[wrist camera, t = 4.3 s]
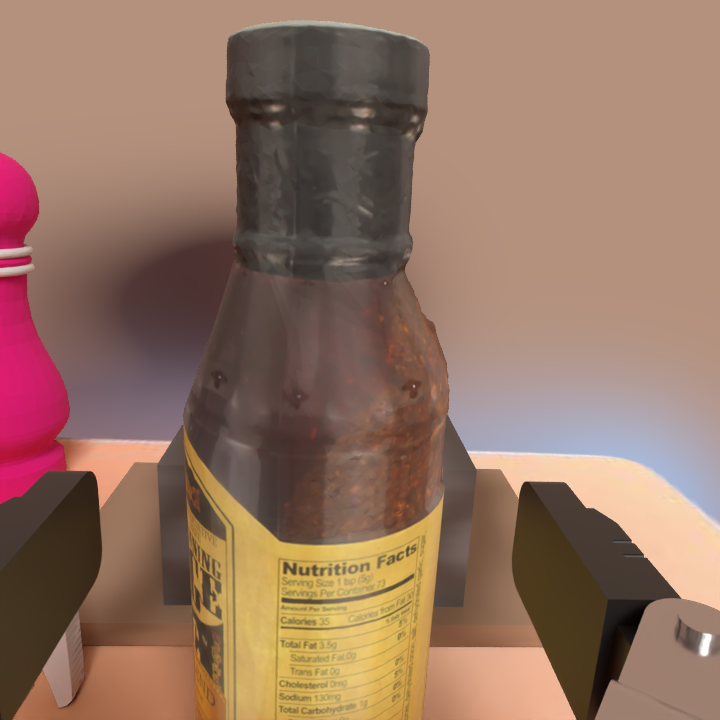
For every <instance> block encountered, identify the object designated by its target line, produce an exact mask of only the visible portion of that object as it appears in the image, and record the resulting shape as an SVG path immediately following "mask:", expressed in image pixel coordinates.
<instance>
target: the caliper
mask: <svg viewBox="0 0 720 720" xmlns="http://www.w3.org/2000/svg"><path fill="white" fill-rule="evenodd" d="M42 670H43V672H44V674H45V676H46V678H47V681H48V683H49V685H50V687H51V690H52V692H53V695H54V697H55V700H56V703H57V705H58V708H61V707H64V706H67V705H68V704H69V703H70V702H71V701H72V700H73V698H74V696H75V694H76V692H77V691H78V689H79V687H80V685H81V683H82V681H83V680H84V678H85V676H84V659H83V649H82V639H81V630H80V620H79V611H77V613H76V615H75V616H74V618H73V620H72V621H71V623H70V625H69V626H68V628H67V630H66V631H65V633H64V635H63V636H62V638H61V640H60V641H59V643H58V645H57V646H56V648H55V649H54V651H53V653H52V654H51V656H50V658H49V659H48V661H47V663H46V664H45V666H44V668H43V669H42ZM33 686H34V684H33ZM33 686H32V688H33ZM32 688H31V689H32ZM31 689H30V691H31ZM30 691H29V692H30ZM28 694H29V693H28ZM28 694H27V696H28ZM27 696H26V697H27ZM26 697H25V699H26ZM25 699H24V700H25ZM23 702H24V701H23ZM23 702H22V703H23ZM21 705H22V704H21ZM19 708H20V707H19Z"/></svg>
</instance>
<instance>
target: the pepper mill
mask: <svg viewBox="0 0 720 720" xmlns="http://www.w3.org/2000/svg"><path fill="white" fill-rule="evenodd" d="M38 214H39V200H38V195H37V191H36V187H35V185H34V183H33V181H32V179H31V177H30V175H29V174H28V173H27V172H26V170H25V169H24V168H23V167H22V166H21V165H20V164H19V163H18V162H16V161H15V160H14V159H12V158H10V157H8V156H6V155H5V154H2V153H0V504H1V503H3V502H5V501H7V500H9V499H11V498H13V497H21V496H22V495H23V494H24V493H25V492H26V491H27V490H28V489H29V488H30V487H32V486H33V485H34V484H35V483H36V482H37V481H38V480H39V479H40V478H41V477H42V476H43V475H44V474H45V473H46V472H47V471H66V464H65V454H64V447H63V446H62V445H61V444H60V443H59V442H58V441H56V440H54V439H55V438H56V436H57V435H58V434H59V433H60V432H61V430H62V429H63V428H64V426H65V424H66V423H67V420H68V417H69V412H70V407H69V402H68V396H67V391H66V388H65V385H64V383H63V380H62V378H61V375H60V373H59V371H58V369H57V368H56V366H55V364H54V363H53V361H52V359H51V358H50V356H49V354H48V352H47V351H46V349H45V347H44V345H43V343H42V341H41V340H40V338H39V336H38V333H37V331H36V328H35V325H34V323H33V320H32V317H31V312H30V307H29V303H28V298H27V273H30V272H32V271H33V270H34V268H35V266H34V265H33V264H32V263H31V260H32V259H31V256H30V254H32V252H33V249H32V247H30V246H29V245H26V244H24V243H23V242H24V239H25V236H26V234H27V233H28V232H29V231H30V229H31V228H32V227H33V225H34V223H35V222H36V220H37V217H38Z"/></svg>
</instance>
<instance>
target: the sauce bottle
mask: <svg viewBox="0 0 720 720" xmlns="http://www.w3.org/2000/svg"><path fill="white" fill-rule="evenodd" d="M429 56H430V55H429V50H428V48H427V47H426V46H425V45H424V44H423V43H422V42H420V41H419V40H417V39H415V38H413V37H411V36H407V35H403V34H399V33H395V32H392V31H388V30H382V29H377V28H372V27H366V26H361V25H355V24H348V23H339V22H327V21H301V20H299V21H298V20H292V21H284V22H274V23H265V24H259V25H255V26H251V27H247V28H244V29H241V30H239V31H237V32H235V33H233V34H232V35H230V37H229V41H228V46H227V80H226V103H227V106H228V108H229V111H230V115H231V116H232V118H233V119H234V121H235V124H236V160H237V165H236V172H237V208H236V212H237V228H236V232H235V235H234V237H233V239H232V243H233V247H234V253H235V259H234V262H233V266H232V269H231V272H230V275H229V279H228V282H227V285H226V289H225V292H224V295H223V298H222V302H221V305H220V308H219V311H218V315H217V318H216V321H215V324H214V327H213V330H212V333H211V335H210V338H209V341H208V344H207V347H206V349H205V352H204V355H203V358H202V361H201V363H200V366H199V369H198V372H197V375H196V377H195V380H194V383H193V386H192V389H191V391H190V394H189V398H188V400H187V403H186V406H185V408H184V414H183V428H184V459H185V479H186V498H187V517H188V547H189V567H190V589H191V600H192V632H193V646H194V670H195V692H196V713H197V720H422V714H423V705H424V696H425V686H426V676H427V665H428V655H429V645H430V634H431V623H432V613H433V603H434V593H435V583H436V572H437V562H438V551H439V541H440V530H441V520H442V509H443V499H444V488H445V486H444V482H443V480H442V472H443V468H442V462H443V459H442V452H443V447H444V435H445V427H446V416H447V413H448V409H449V385H448V373H447V362H446V360H445V357H444V354H443V351H442V348H441V346H440V343H439V340H438V337H437V334H436V329H435V325H434V323H433V322H431V321H429V320H428V319H427V318H426V316H425V315H424V314H423V313H422V312H421V308H420V304H419V302H418V299H417V298H416V296H415V294H414V290H413V288H412V286H411V284H410V282H409V281H408V279H407V277H406V274H405V266H406V264H407V262H408V260H409V258H410V254H411V251H412V246H413V241H412V237H411V235H410V233H409V221H410V211H411V194H412V175H413V160H414V148H415V143H416V141H417V140H418V138H419V137H420V135H421V133H422V132H423V126H424V121H425V118H426V115H427V110H428V108H427V94H428V86H429V85H428V84H429V82H428V81H429Z"/></svg>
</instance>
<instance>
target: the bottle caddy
mask: <svg viewBox="0 0 720 720" xmlns="http://www.w3.org/2000/svg"><path fill="white" fill-rule="evenodd" d="M442 459H443V462H442V468H443V472H442V480H443V482H444V486H445V488H444V499H443V509H442V520H441V530H440V541H439V551H438V562H437V572H436V583H435V593H434V603H433V613H432V623H431V634H430V645H429V646H491V647H543V646H542V643H541V641H540V639H539V637H538V635H537V633H536V630H535V628H534V626H533V624H532V622H531V620H530V617H529V615H528V613H527V611H526V609H525V607H524V604H523V602H522V600H521V598H520V596H519V594H518V591H517V589H516V587H515V583H514V579H513V572H512V550H513V542H514V535H515V527H516V519H517V511H518V503H519V499H518V497H517V496H516V494H515V492H514V491H513V489H512V487H511V486H510V484H509V483H508V481H507V479H506V478H505V476H504V474H503V473H502V471H501V470H500V469H476V468H475V466H474V464H473V463H472V461H471V459H470V457H469V455H468V453H467V451H466V449H465V447H464V445H463V444H462V442H461V440H460V438H459V436H458V434H457V432H456V430H455V428H454V426H453V425H452V423H451V421H450V419H449V417H448V415H447V416H446V427H445V435H444V447H443V452H442ZM100 524H101V537H102V560H101V566H100V570H99V574H98V577H97V579H96V581H95V583H94V585H93V587H92V588H91V590H90V592H89V593H88V595H87V597H86V598H85V600H84V601H83V603H82V605H81V606H80V608H79V610H78V611H79V620H80V630H81V639H82V645H124V646H193V632H192V600H191V589H190V567H189V547H188V517H187V498H186V479H185V459H184V428H183V425H182V427H181V428H180V430H179V431H178V433H177V435H176V436H175V438H174V439H173V441H172V442H171V444H170V445H169V447H168V449H167V450H166V452H165V453H164V455H163V456H162V458H161V460H160V461H159V463H136V462H135V463H134V464H133V466H132V467H131V468H130V470H129V471H128V473H127V474H126V475H125V477H124V478H123V479H122V481H121V482H120V484H119V485H118V486H117V488H116V489H115V490H114V492H113V493H112V495H111V496H110V497H109V499H108V500H107V501H106V503H105V504H104V506H103V507H102V508H101V510H100Z"/></svg>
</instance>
